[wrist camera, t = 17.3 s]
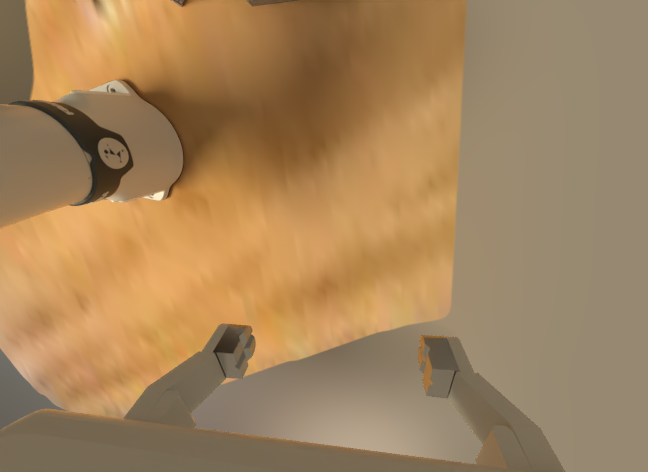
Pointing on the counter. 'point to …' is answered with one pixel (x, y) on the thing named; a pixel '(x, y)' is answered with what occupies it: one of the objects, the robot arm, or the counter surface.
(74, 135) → the robot arm
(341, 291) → the counter surface
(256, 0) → the levelling base
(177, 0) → the medicine box
